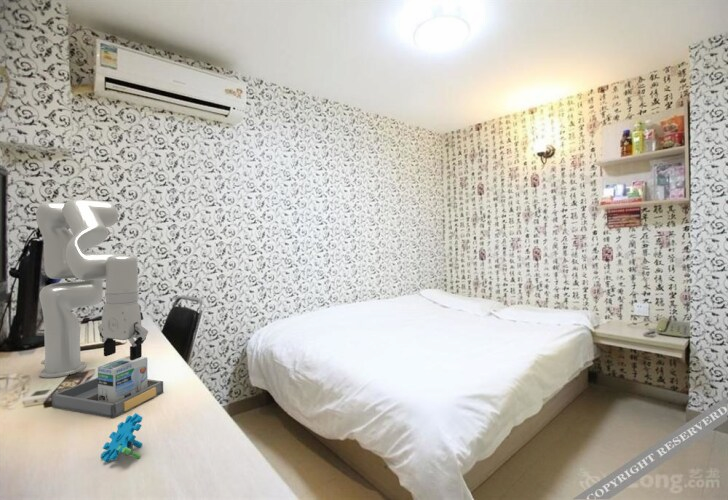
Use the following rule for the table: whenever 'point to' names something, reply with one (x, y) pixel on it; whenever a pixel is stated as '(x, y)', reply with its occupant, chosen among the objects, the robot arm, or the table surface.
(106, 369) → the light bulb box
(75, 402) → the bay tray
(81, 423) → the table surface
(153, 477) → the table surface
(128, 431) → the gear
